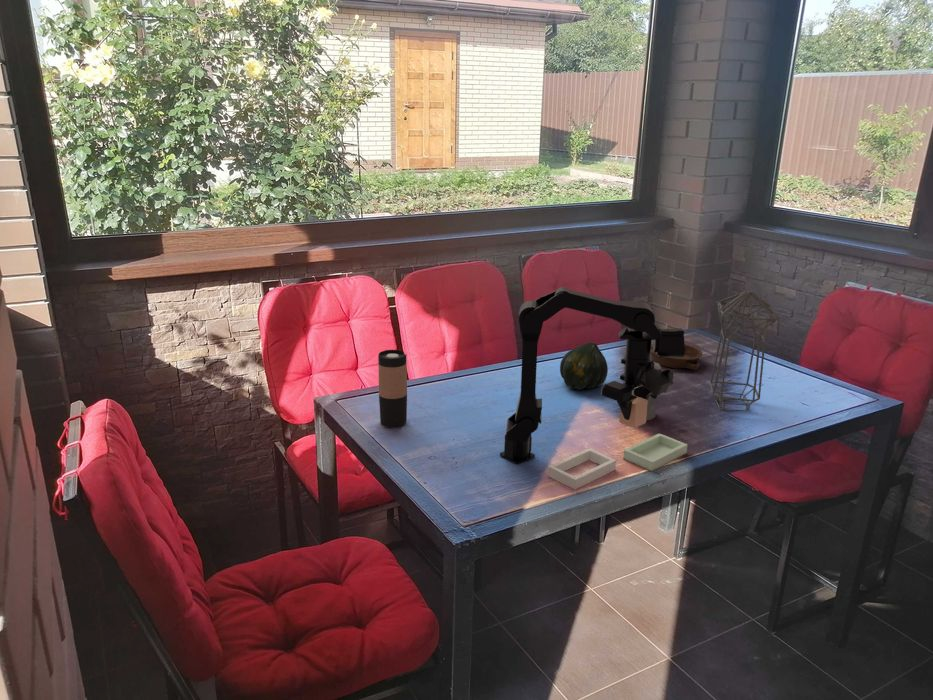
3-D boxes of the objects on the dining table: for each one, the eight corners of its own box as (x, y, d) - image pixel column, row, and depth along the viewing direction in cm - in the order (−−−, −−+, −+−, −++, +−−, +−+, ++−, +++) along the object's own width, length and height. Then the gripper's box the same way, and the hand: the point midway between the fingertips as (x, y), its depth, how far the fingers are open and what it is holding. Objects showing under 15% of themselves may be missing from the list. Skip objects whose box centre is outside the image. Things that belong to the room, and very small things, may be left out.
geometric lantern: (702, 393, 227) (717, 283, 216) (756, 398, 224) (773, 286, 213) (707, 413, 212) (723, 296, 201) (765, 419, 210) (784, 300, 198)
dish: (675, 377, 241) (676, 362, 239) (633, 356, 259) (634, 342, 258) (716, 370, 248) (718, 355, 246) (672, 350, 267) (673, 336, 265)
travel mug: (374, 425, 201) (372, 356, 195) (387, 415, 208) (386, 347, 202) (399, 430, 199) (398, 360, 192) (412, 419, 206) (411, 351, 199)
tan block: (634, 428, 177) (636, 404, 175) (619, 422, 180) (621, 399, 178) (645, 422, 179) (647, 400, 177) (630, 417, 183) (632, 394, 181)
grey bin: (574, 489, 170) (575, 479, 170) (547, 475, 176) (548, 466, 176) (615, 469, 180) (616, 460, 179) (588, 457, 186) (589, 448, 185)
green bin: (651, 471, 179) (652, 462, 178) (623, 458, 185) (624, 449, 184) (686, 453, 189) (687, 444, 188) (658, 441, 195) (659, 433, 194)
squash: (544, 369, 229) (576, 340, 221) (565, 358, 241) (596, 330, 233) (572, 405, 227) (606, 378, 218) (592, 392, 239) (625, 365, 230)
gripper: (641, 374, 163) (636, 438, 168) (690, 355, 174) (683, 416, 179) (601, 361, 171) (598, 423, 176) (650, 344, 182) (645, 403, 187)
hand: (632, 416), depth 179 cm, fingers closed on tan block, 4 cm apart
